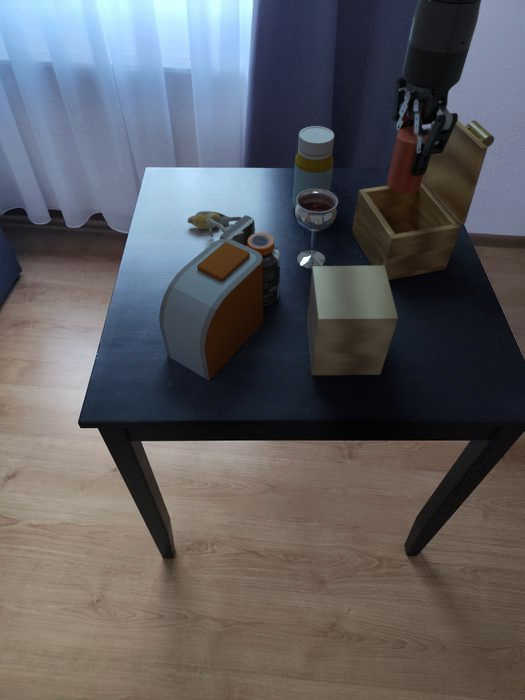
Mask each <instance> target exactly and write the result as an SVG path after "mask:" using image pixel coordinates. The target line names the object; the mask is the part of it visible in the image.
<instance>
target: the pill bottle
mask: <svg viewBox="0 0 525 700" xmlns="http://www.w3.org/2000/svg"><path fill="white" fill-rule="evenodd" d="M247 247H249V248H251V249H253V250H256V251H257V252H259V253H260V254H261V255H262V258H263V307H268V306H270V305H273V304H274V303H276V302H277V300H278V299H279V297H280V285H281V284H280V283H281V282H280V281H281V277H280V276H281V253H280V251H279V248H278V247H276V246H275V239H274V237H273V236H272V235H271V234H269V233H266V232H255V233H254V234H253V235H251V236H250V237H249V238H248V245H247Z"/></svg>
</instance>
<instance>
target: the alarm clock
mask: <svg viewBox="0 0 525 700" xmlns="http://www.w3.org/2000/svg"><path fill="white" fill-rule="evenodd" d="M158 321H159V328H160V332H161V336H162V340H163V344H164V348H165V351H166V352H165V353H166V355H167V357H168V358H169V359H172V360H174V361H175V362H177V363H178V364H180V365H182V366H183V367H185V368H187V370H190V371H192V372H193V373H195V374H197V375H198V376H200V377H202V378H203V379H205V380H207V381H211V379H212V378H213V377H214V376H215V375H216V374H218V372H219V371H220V370H221V369H222V368H223V367H224V366H225V365H226V363H227V362H228V361H229V360H230V359H231V358H233V356H234V355H235V354H236V353H238V351H239V350H240V349H241V347H243V346H244V345H245V344H246V342H247V341H249V339H250V338H251V337H252V336H253V335H254V334H255V333H256V331H258V329H260V328H261V327H262V325H263V323H264V306H263V258H262V255H261V254H260V253H259V252H257V251H256V250H253V249H251V248H249V247H247V246H244V245H242V244H240V243H238V242H236V241H233V240H231V239H220V238H219V239H217V240H215V241H214V242H213V243H211V244H209V245H208V246H207V247H206V248H205V249H204V250H202V251H201V252H200V253H199V254H198V255H197V256H195V257H194V258H193V259H191V260H190V261H189V262H188V263H186V264H185V265H184V266H183V267H182V268H181V270H179V271H178V272H177V273H176V275H174V277H173V279H172V280H171V281H170V283H169V284H168V287H167V288H166V291H165V292H164V295H163V296H162V300H161V304H160V306H159V314H158Z"/></svg>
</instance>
